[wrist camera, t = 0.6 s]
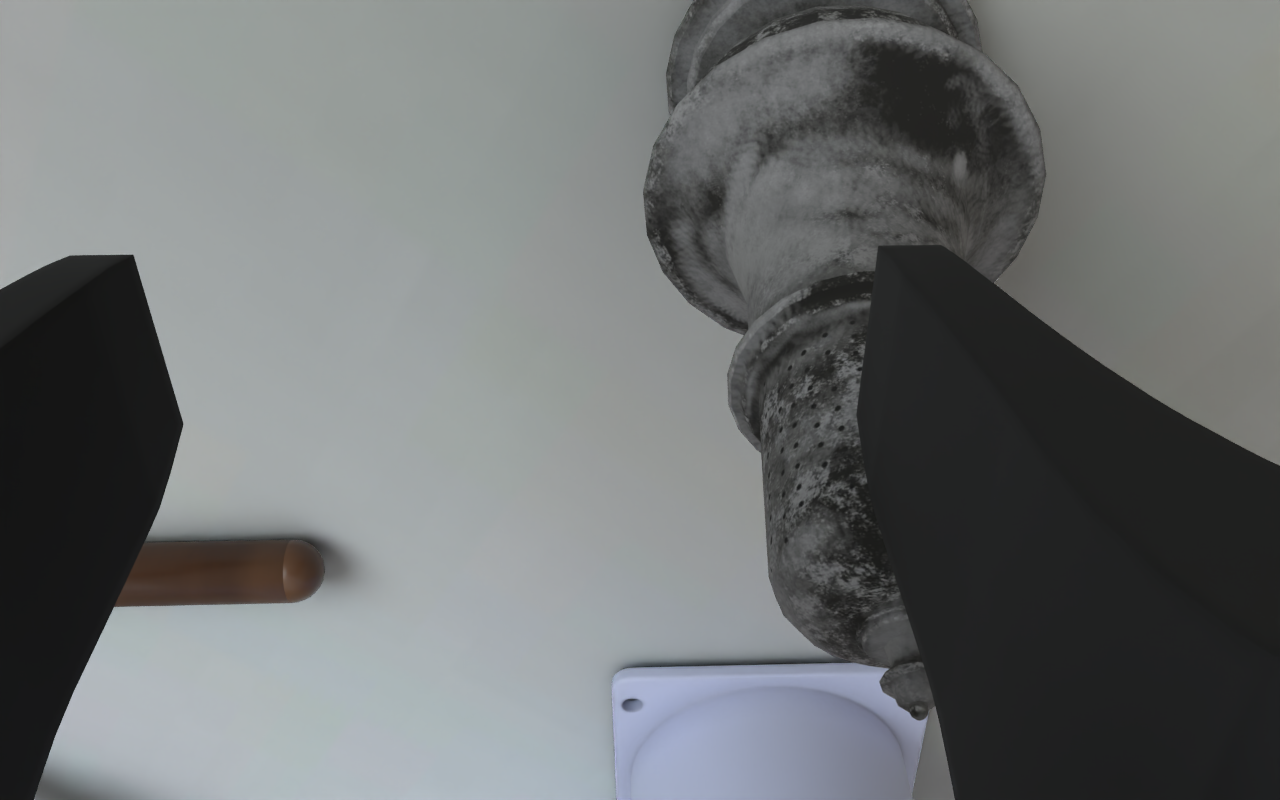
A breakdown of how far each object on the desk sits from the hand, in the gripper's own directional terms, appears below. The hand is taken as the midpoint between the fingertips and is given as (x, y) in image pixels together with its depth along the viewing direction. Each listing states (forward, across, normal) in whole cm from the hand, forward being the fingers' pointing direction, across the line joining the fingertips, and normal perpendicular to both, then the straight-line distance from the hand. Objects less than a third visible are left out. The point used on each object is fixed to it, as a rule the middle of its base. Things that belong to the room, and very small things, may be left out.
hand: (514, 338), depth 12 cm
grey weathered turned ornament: (+10, -4, +1) cm, 11 cm away
